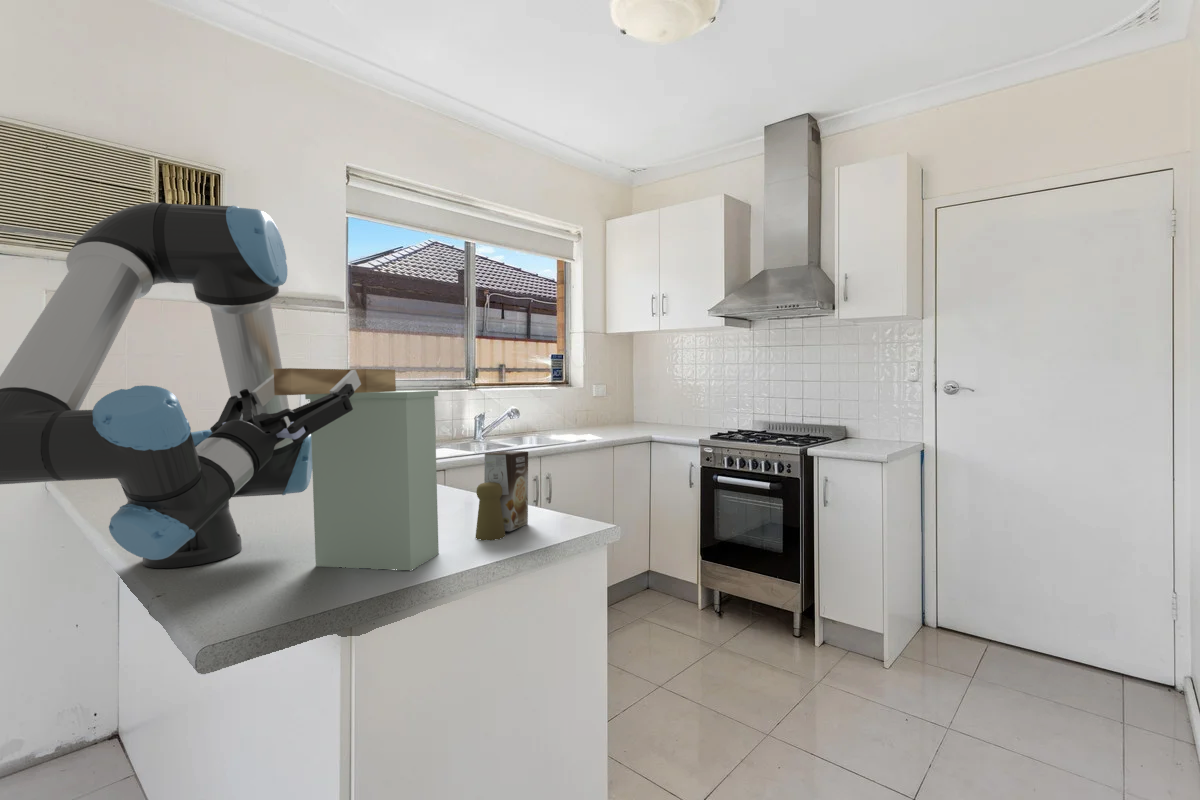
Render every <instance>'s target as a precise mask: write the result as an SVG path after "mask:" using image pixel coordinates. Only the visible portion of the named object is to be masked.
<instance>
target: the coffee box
mask: <svg viewBox="0 0 1200 800" xmlns="http://www.w3.org/2000/svg"><path fill="white" fill-rule="evenodd" d="M483 481H484V482H483V483H486V482H495V483H499V484H500V485H501V487H502V492H503V493H502V496H501V498H500V503H501V509H502V516H503V522H504V529H505V532H513V531H514V530H517V529H519V528H522V527H524V526H526V525H528V523H529V451H525V450H524V451H523V450H522V451H521V450H517V451H516V450H515V451H514V450H511V451H506V450H503V451H495V452H494V451H493V452H487V453H486V452H484V480H483Z"/></svg>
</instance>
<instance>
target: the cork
mask: <svg viewBox="0 0 1200 800" xmlns="http://www.w3.org/2000/svg"><path fill="white" fill-rule="evenodd" d="M475 492H476V496H477V499H479V503H478V510H477V518H476V527H475V539H476V538H477V539H476V540H478V539H481V540H480V541H484V540H490V541H496V540H495V539H498V540H501V539H500V538H502V539H504V538H505V537H506V536H505V535H506V531H505V529H504V522H503V516H502V509H501V503H500V498H501V496H502V493H503V492H502V487H501V485H500V484H499V483H495V482H486V483H484V482H483V483H480V484H478V486H477V487H476V491H475ZM503 537H504V538H503Z"/></svg>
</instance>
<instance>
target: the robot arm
mask: <svg viewBox="0 0 1200 800" xmlns="http://www.w3.org/2000/svg"><path fill="white" fill-rule="evenodd" d="M65 263H66V265H65V266H66V268H67V271H68V272H67V273H66V275H65V276H64V278H63V279H62V281H61V282H60V283H59V286H58V287H57V288H56V289H55V292H54V293H53V295H52V296H51V298H50V299H49V301H48V302H47V303H46V305H45V306H44V309H43V310H42V312H41V313H40V315H39V316H38V318H37V319H36V321H35V322H34V324H33V326H32V327H31V329H30V330H29V331H28V333H27V334H26V335H25V337H24V339H23V341H22V342H21V344H20V345H19V347H18V349H16V351H15V353H14V355H12V357H11V359H10V360H9V362H8V363H7V365H6V366H5V368H4V369H3V371H2V373H1V374H0V485H10V484H11V485H12V484H27V483H28V484H29V483H31V484H32V483H45V482H46V483H47V482H48V483H49V482H59V481H60V482H65V481H86V480H87V481H88V480H89V481H90V480H108V479H116V480H118V482H119V483H120V486H121V488H122V490H123V494H124V496H125V498H126V500H127V501H126V503H125V504H123V505H121V506H119V509H118V510H117V511H116V512H115V513H114V514H113V515H112V516H111V517H110V522H109V524H108V530H109V533H110V535H111V537H112V538H113V539H114V541H115V542H116V543H117V544H118V545H119V546H120V547H121V548H123V549H124V551H127V552H129V553H130V554H132V555H135V556H136V557H139V558H142V565H144V567H148V568H151V569H152V568H153V569H171V568H172V569H173V568H176V569H177V568H184V567H192V566H198V565H203V564H209V563H212V562H217V561H220V560H223V559H228V558H230V557H232V556H234V555H237V554H238V553H240V552H241V551H242V549H243V548H242V547H243V546H242V536H241V535H240V534H239V533H238V531H237V527H236V524H235V521H234V518H233V516H232V514H231V511H230V500H231V499H232V498H242V497H244V498H245V497H260V496H261V497H262V496H275V495H277V496H278V495H281V496H286V495H289V494H290V495H291V494H299V493H302V492H305V490H307V489H308V487H309V485H310V482H311V479H312V475H313V472H312V442H311V434H312V433H313V432H315V431H317V430H319V429H320V428H322V427H324V426H326V425H327V424H329V423H331V422H333V421H334V420H336V419H338V418H340V417H341V416H343V415H345V414H347V413H348V412H350V411H352V410H353V407H352V405H351V402H350V400H349V398H350V397H351V396H352V395H353V394H354V392H355V390H356V389H357V388H358V387H359V386H360V385H361V382H360V380H359V377H358V374H357V372H356V370H351V371H350V372H349V373H348V374H347V375H346V376H344V377H343V378H342V379H341V380H340V381H339V382H338V383H337V384H336V385H335V386H334V387H333V388H332V389H331V390H330V395H327V396H325V397H322V398H320V399H317V400H315V401H313V402H310V401H309V402H308V403H305V404H303V405H301V406H298V407H295V408H293V409H291V408H290V406H289V400H288V395H275V393H274V369H282V368H283V365H282V360H281V353H280V348H279V342H278V337H277V332H276V331H277V330H276V325H275V320H274V314H273V308H272V307H273V306H272V303H271V302H272V301H273V300H274V299H276V297H277V296H278V295H279V293H280V289H279V287H280V286H283V285H284V284H285V283H286V282H287V278H288V265H287V264H288V263H287V254H286V249H285V245H284V242H283V238H282V236H281V233H280V230H279V228H278V226H277V224H276V223H275V221H274V220H273V219H272V217H271V216H270V215H269V214H268V213H266V212H265V211H263V210H261V209H256V208H248V207H239V206H236V205H212V204H210V205H209V204H204V205H203V204H187V203H186V204H184V203H167V202H145V203H139V204H136V205H131V206H128V207H126V208H123V209H120V210H118V211H116V212H114V213H112V214H110V215H108V216H107V217H105V218H103V219H101V220H100V221H99V222H97V223H95V224H94V225H92V227H90V228H89V229H87V230H86V231H85V232H84V233H82V235H81V236H80V237H79V238H78V239H77V240H76V242H75V243H74V244H73V246H72V248H71V249H70V250H69V251H68V254H67V256H66V259H65ZM164 283H165V284H166V283H173V284H191V285H192V287H193V291H194V294H195V298H196V299H197V300H198V301H199V302H200V303H202V304H204V305H205V306H207V307H209V309H210V313H211V317H212V320H213V326H214V330H215V331H214V332H215V334H216V337H217V338H216V339H217V343H218V347H219V351H220V352H219V353H220V356H221V360H222V363H223V368H224V373H225V377H226V382H227V385H228V389H229V393H230V397H229V398H228V400H227V402H226V403H225V405H224V406H223V410H222V411H221V414H220V416H219V418H218V420H217V421H216V422H215V423H214V424H213V425H212V426H211V427H210V429H204V430H198V431H192V430H191V429H192V428H191V426H190V422H189V420H188V418H186V416H185V414H184V411H183V409H182V406H181V403H180V401H179V399H178V397H177V396H176V395H175V394H174V393H173V392H172V391H170V390H168V389H166V388H163V387H161V386H156V385H155V386H154V385H142V384H141V385H134V386H132V387H131V388H127V389H126V388H121V389H117V390H114V391H112V392H109V393H108V394H106V395H104V396H103V397H101V398H100V399H99V400H97V401H96V403H95V404H94V406H93V408H92V409H81V407H82V405H83V402H84V401H85V399H86V396H87V395H88V393H89V390H90V389H91V386H92V385H93V383H94V381H95V380H96V378H97V375H98V373H99V372H100V370H101V368H102V365H103V363H104V362H105V360H106V358H107V356H108V354H109V352H110V350H111V349H112V346H113V344H114V342H115V340H116V339H117V336H118V334H119V332H120V330H121V328H122V326H123V324H124V323H125V321H126V319H127V317H128V314H129V313H130V310H131V309H132V307H133V305H134V303H135V301H136V300H139V299H141V298H143V297H145V296H146V295H148V294H149V292H150V291H151V290H152V287H153V286H155V285H158V284H164Z"/></svg>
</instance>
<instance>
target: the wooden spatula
mask: <svg viewBox="0 0 1200 800" xmlns="http://www.w3.org/2000/svg"><path fill="white" fill-rule="evenodd" d="M351 370H356V372H357V374H358V377H359V380H360V382H361V385H360V386H359V387H358V388H357V389H356V390H355V392H354V393H361V392H388V391H397V390H396V389H397V388H396V387H397V386H396V385H397V383H396V381H397V380H396V369H389V368H387V369H386V368H385V369H384V368H355V369H353V368H350V369H348V368H347V369H346V368H344V369H343V368H342V369H341V368H340V369H339V368H295V367H294V368H293V367H289V368H287V367H285V368H283V367H282V369H274V393H275V395H287V396H299V395H300V396H301V395H305V394H328V393H330V390H331V389H332V388H333V387H334V386H335V385H336V384H337V383H338V382H339V381H340V380H341V379H342V378H343V377H344V376H346V375H347V374H348V373H349V372H350V371H351Z"/></svg>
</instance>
